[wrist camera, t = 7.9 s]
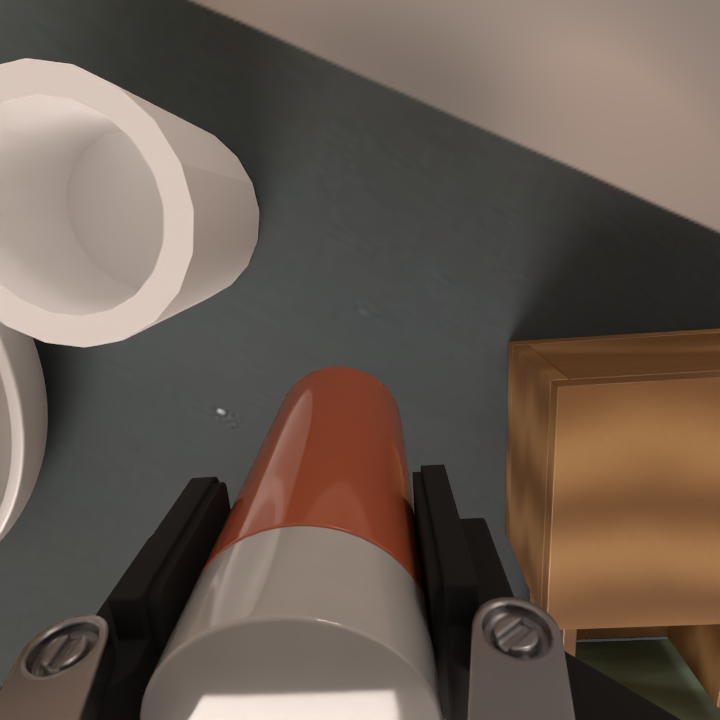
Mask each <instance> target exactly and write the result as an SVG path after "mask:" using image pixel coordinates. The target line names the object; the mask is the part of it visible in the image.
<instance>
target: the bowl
mask: <svg viewBox="0 0 720 720" xmlns="http://www.w3.org/2000/svg"><path fill="white" fill-rule="evenodd" d="M47 426H48V407H47V394H46V387H45V380H44V376H43V371H42V366H41V362H40V359H39V355H38V352H37V348H36V346H35V343H34V340H33V337H31V336H29V335H26V334H24V333H22V332H19V331H17V330H15V329H12V328H10V327H8V326H6V325H5V324H3V323H2V322H1V321H0V541H1V540H2V539H3V538H4V537H5V535H6V534H7V533H8V532H9V530H10V529H11V528H12V526H13V525H14V524H15V522H16V521H17V519H18V517H19V516H20V514H21V513H22V511H23V509H24V508H25V506H26V504H27V502H28V500H29V498H30V496H31V494H32V492H33V489H34V487H35V484H36V482H37V479H38V476H39V472H40V469H41V466H42V462H43V457H44V453H45V446H46V439H47Z"/></svg>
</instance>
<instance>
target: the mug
mask: <svg viewBox="0 0 720 720" xmlns="http://www.w3.org/2000/svg"><path fill="white" fill-rule="evenodd" d="M258 228H259V208H258V204H257V200H256V196H255V192H254V187H253V183H252V182H251V180H250V178H249V176H248V175H247V173H246V171H245V170H244V168H243V166H242V164H241V163H240V161H239V159H238V157H237V156H236V155H235V154H234V153H233V152H231V151H230V150H229V149H228V148H227V147H226V146H225V145H224V144H223V143H222V142H221V141H220V140H219V139H218V138H217V137H216V136H214V135H212V134H210V133H208V132H206V131H204V130H203V129H201V128H199V127H197V126H195V125H193V124H191V123H189V122H187V121H185V120H183V119H181V118H179V117H177V116H175V115H173V114H171V113H169V112H167V111H165V110H163V109H161V108H159V107H157V106H156V105H154V104H152V103H150V102H148V101H146V100H144V99H142V98H140V97H138V96H136V95H134V94H132V93H130V92H128V91H126V90H124V89H122V88H120V87H118V86H116V85H114V84H112V83H110V82H108V81H106V80H104V79H102V78H100V77H98V76H96V75H94V74H92V73H90V72H88V71H86V70H83V69H81V68H79V67H77V66H75V65H73V64H67V63H59V62H51V61H44V60H36V59H28V58H25V59H21V60H17V61H13V62H8V63H4V64H0V321H1V322H2V323H3V324H5V325H6V326H8V327H10V328H12V329H15V330H17V331H19V332H22V333H24V334H26V335H29V336H31V337H33V338H36V339H38V340H40V341H43V342H45V343H52V344H61V345H69V346H77V347H91V346H96V345H101V344H106V343H111V342H117V341H122V340H124V339H126V338H128V337H131V336H133V335H135V334H137V333H139V332H141V331H143V330H145V329H147V328H149V327H151V326H153V325H155V324H157V323H159V322H161V321H163V320H165V319H167V318H169V317H171V316H173V315H175V314H177V313H179V312H181V311H183V310H185V309H187V308H189V307H191V306H193V305H196V304H198V303H200V302H202V301H204V300H206V299H208V298H210V297H211V296H213V295H215V294H217V293H218V292H220V291H222V290H223V289H225V288H227V287H229V286H230V285H232V284H233V282H234V281H235V280H236V279H237V278H238V276H239V275H240V274H241V273H242V272H243V271H244V269H245V268H246V267H247V266H248V264H249V262H250V259H251V256H252V254H253V251H254V249H255V246H256V244H257V241H258Z"/></svg>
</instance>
